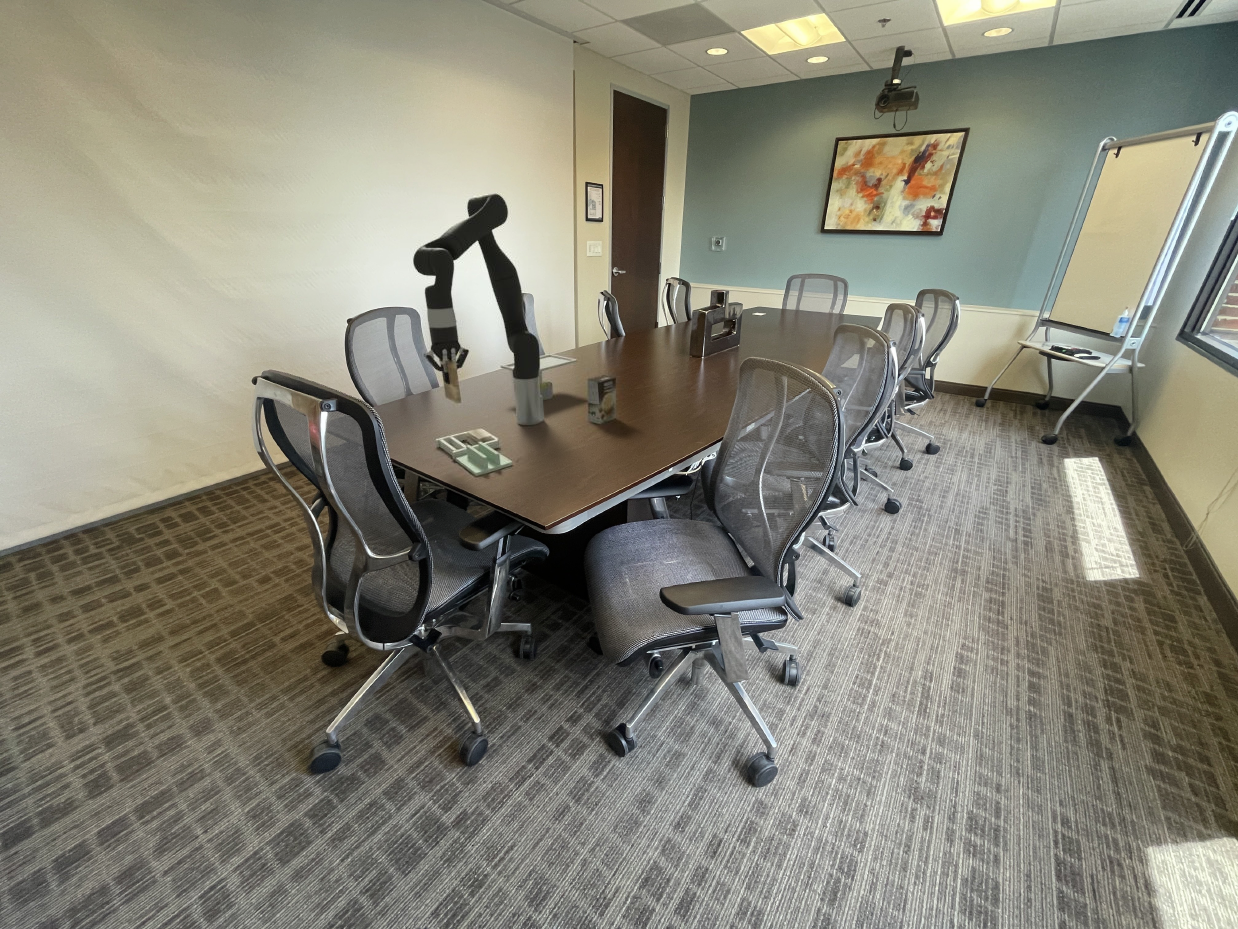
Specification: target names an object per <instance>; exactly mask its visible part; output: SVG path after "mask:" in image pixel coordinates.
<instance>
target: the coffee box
mask: <svg viewBox="0 0 1238 929" xmlns="http://www.w3.org/2000/svg"><path fill="white" fill-rule="evenodd" d="M616 399H617V377H616V376H613V375H606V374H602V375H597V376H595V377H590V378H587V420H588V421H589V422H591V423H595V424H597V425H602V424H604V423H607V422H609V421H612V420H615V419H616V418H617V417H616V416H617V415H616V411H617V407H616V404H617V400H616Z"/></svg>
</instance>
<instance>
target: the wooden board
mask: <svg viewBox="0 0 1238 929" xmlns="http://www.w3.org/2000/svg"><path fill="white" fill-rule="evenodd" d="M448 373H449V380H450V384H449V385H448V384H446V383H445V382H444V380H443V379H442V381H443V387H444V395H445V398H446V399H448V400H450V401H451V402H453V403H454V404H462V396H461V390H460V383H459V376H458V375H459V374H458V369H457V366H456V363H455V362H452V361H450V360H448ZM442 376H443V374H442Z"/></svg>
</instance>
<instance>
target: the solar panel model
mask: <svg viewBox="0 0 1238 929" xmlns="http://www.w3.org/2000/svg"><path fill="white" fill-rule="evenodd" d="M574 363H578V359H576V358H571V357H565V356H562V355H556V354H551V353H547V354H544V355H540V369H539V384H540V395H541V396H542V397H543V401H546V400H550V399H552V398H553V397H554V387H553V383H552V381H551V382H550V381H546V380H545V381H543V373H542V372H543V371H547V370H551V369H556V368H559V367H563V366H567V365H570V364H574ZM513 368H514V362H509V363H506V364H501V365H500V369H504V370H508V371H512V372H513Z"/></svg>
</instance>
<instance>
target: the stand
mask: <svg viewBox="0 0 1238 929" xmlns="http://www.w3.org/2000/svg"><path fill="white" fill-rule="evenodd" d="M465 446H466V449H467V455H464V456H460V457H457V458H455V459H456V460H455V462H457V463H458V464H459V465H461V466H462V467H463V468H465V469H466V470H468V471H469V472H470V473H471V474H473V475H474V476H476V477H477V476H480V475H484V474H487V473H490V472H494V471H497V470H500V469H505V468H507V467H511V466H513V465H514V463H513V461H512V460H510V459H509V458H507V457H506V456H504V455H502V454H501V453H499V452H498V451H496V450H495V449H492V448H490V447H489V446H487V445H486V444H484V443H482V442H478V446H479V451H478V450H476V449H475V448H473V447H472V446H473V445H471V444H467V445H465Z"/></svg>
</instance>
